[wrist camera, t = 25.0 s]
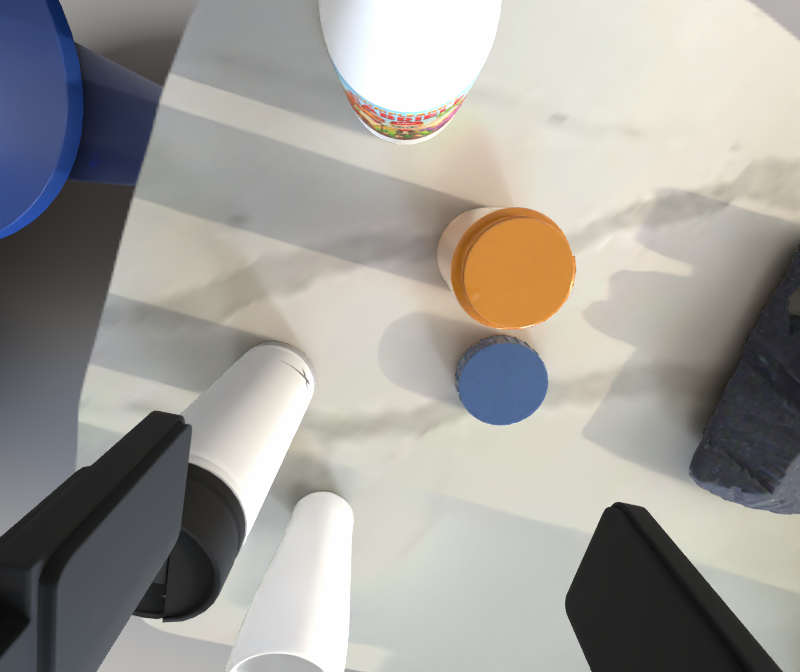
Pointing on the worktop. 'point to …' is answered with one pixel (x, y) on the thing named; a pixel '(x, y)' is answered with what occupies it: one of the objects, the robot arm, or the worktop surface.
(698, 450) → the dark slate chunk
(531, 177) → the worktop surface
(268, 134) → the worktop surface
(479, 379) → the jam lid
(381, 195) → the worktop surface
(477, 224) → the honey jar
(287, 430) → the travel mug
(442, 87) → the milk bottle
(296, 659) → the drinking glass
